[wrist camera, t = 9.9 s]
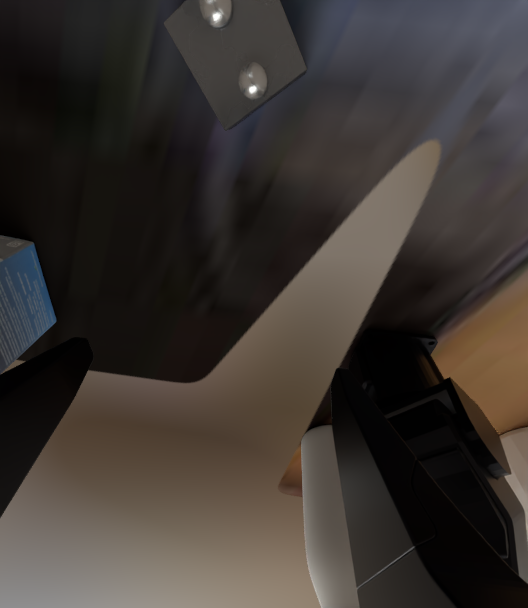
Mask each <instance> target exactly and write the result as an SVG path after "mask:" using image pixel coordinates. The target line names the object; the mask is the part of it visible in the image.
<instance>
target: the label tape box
mask: <svg viewBox="0 0 528 608" xmlns="http://www.w3.org/2000/svg"><path fill="white" fill-rule="evenodd" d="M55 322H56V316H55V313H54V310H53V307H52V304H51V300H50V297H49V294H48V290H47V287H46V284H45V280H44V277H43V274H42V270H41V267H40V263H39V260H38V256H37V253H36V249H35V246H34V243H33V242H30V241H26V240H21V239H16V238H12V237H6V236H1V235H0V374H1V373H2V372H3V371H4V370H5V369H6V368H7V367H8V366H9V365H10V364H11V363H12V362H14V361H15V360H16V359H17V358H18V357H19V356H20V355H21V354H22V353H23V352H24V351H26V350H27V349H28V348H29V347H30V346H31V345H32V344H33V343H34V342H35V341H36V340H37V339H38V338H39V337H40V336H41V335H42V334H44V333H45V332H46V331H47V330H48V329H49V328H50V327H51V326H52V325H53V324H54V323H55Z"/></svg>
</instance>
